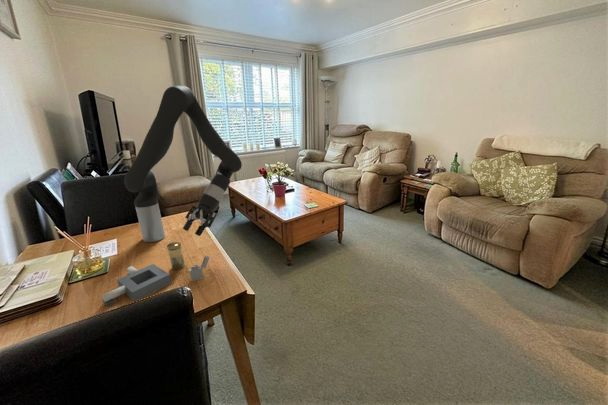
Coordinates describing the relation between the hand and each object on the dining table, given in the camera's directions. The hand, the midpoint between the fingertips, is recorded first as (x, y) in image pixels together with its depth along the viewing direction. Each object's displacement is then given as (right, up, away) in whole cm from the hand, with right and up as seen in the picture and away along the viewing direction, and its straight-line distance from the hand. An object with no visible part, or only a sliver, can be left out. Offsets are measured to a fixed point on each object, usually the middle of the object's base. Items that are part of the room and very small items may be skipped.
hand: (191, 232), depth 106 cm
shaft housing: (-14, -17, -14) cm, 26 cm away
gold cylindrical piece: (-4, -13, -2) cm, 14 cm away
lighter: (+8, -15, -9) cm, 19 cm away
